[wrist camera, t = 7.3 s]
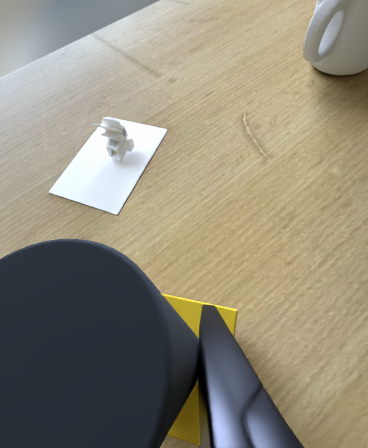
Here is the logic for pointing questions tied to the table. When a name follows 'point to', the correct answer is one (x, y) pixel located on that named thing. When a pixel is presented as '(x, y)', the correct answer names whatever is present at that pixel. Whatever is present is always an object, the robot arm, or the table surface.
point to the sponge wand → (94, 351)
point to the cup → (338, 37)
